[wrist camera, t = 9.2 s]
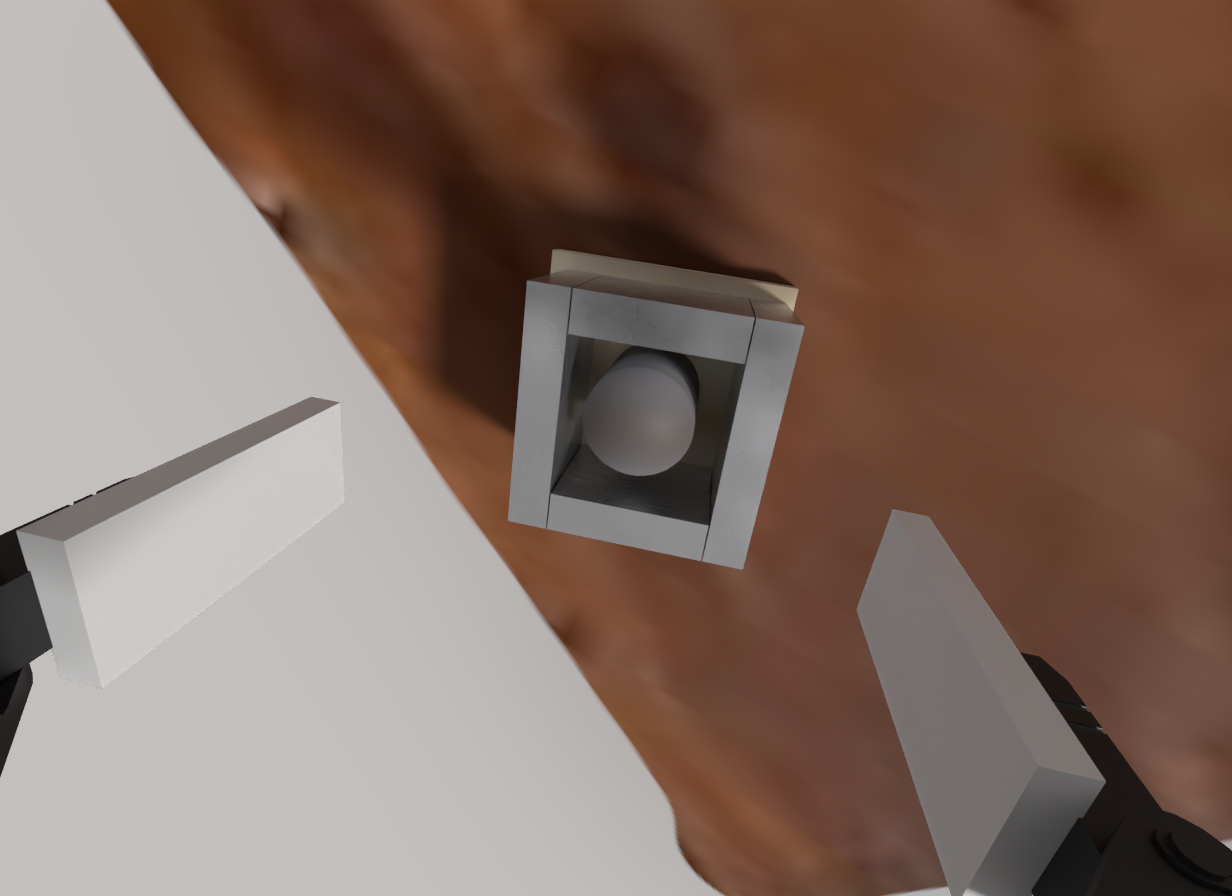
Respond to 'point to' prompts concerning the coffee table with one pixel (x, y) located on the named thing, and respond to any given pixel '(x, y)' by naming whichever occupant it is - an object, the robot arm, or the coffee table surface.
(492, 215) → the coffee table surface
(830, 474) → the coffee table surface
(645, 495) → the grey hollow square block
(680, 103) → the coffee table surface
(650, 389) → the cream square tile
